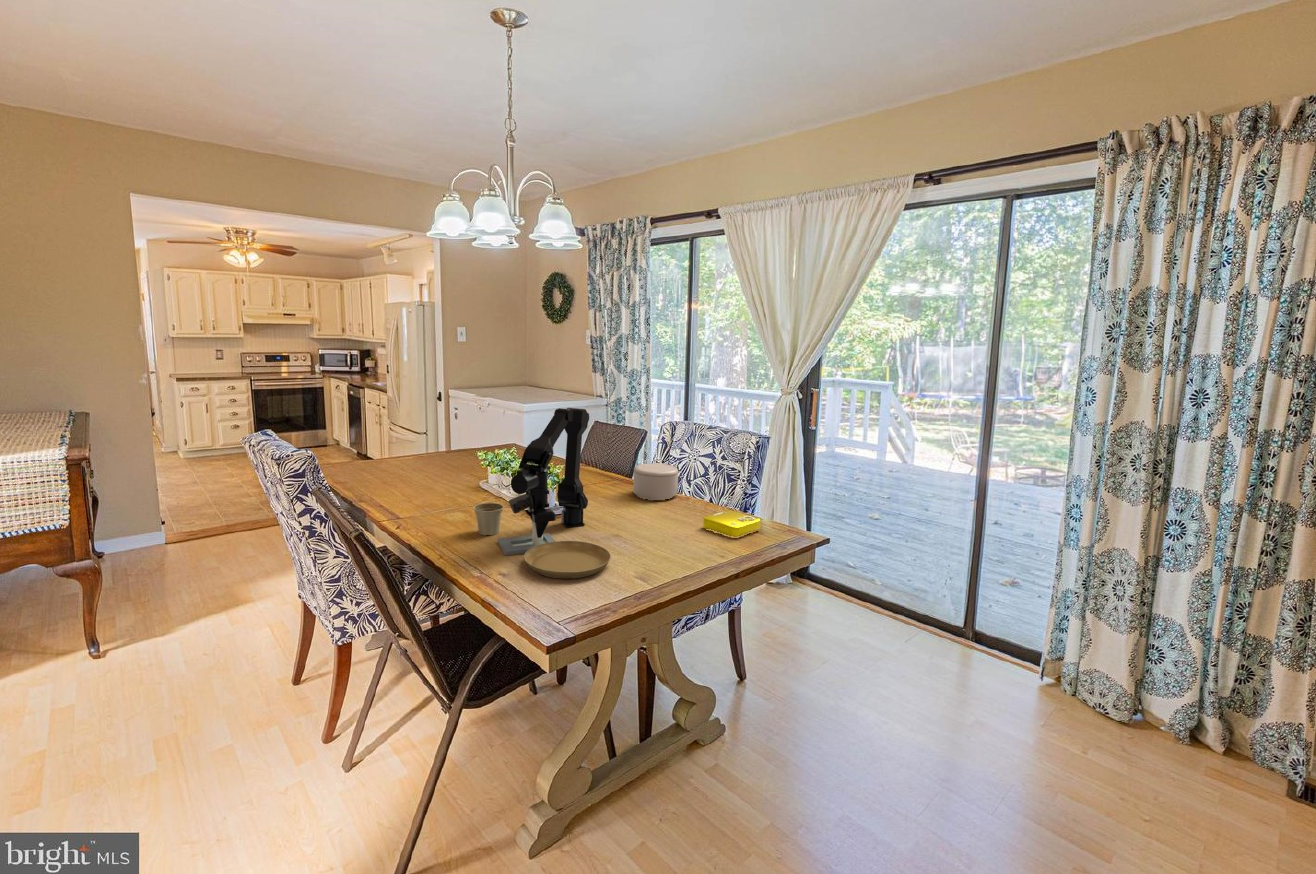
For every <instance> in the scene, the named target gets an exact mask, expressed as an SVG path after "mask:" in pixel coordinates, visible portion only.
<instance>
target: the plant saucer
mask: <svg viewBox="0 0 1316 874" xmlns="http://www.w3.org/2000/svg"><path fill="white" fill-rule="evenodd" d="M523 558H524V561H525V563H526V564H527V565H528V566H529V568H530V569H531V570H532V571H534V572H536V573H537V574H539V575H542V576H543V577H548V578H552V579H562V580H569V579H573V580H574V579H580V578H586V577H589V576H592V575H594V574H598V573H599V572H601V571H602V570H603V569H605V568H606V566H607V565H608V564H609V562H610V561H611V558H612V556H611V553H610V551H609V550H608V549H606V548H604V547H603V546H600V545H598V544H595V543H592V542H586V541H579V540H557V541H556V540H555V542H548V543H544V544H540V545H537V546H535V547H532V548H531V549H529V550H528V551H527V552H526V553H524V554H523Z"/></svg>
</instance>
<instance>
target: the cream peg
mask: <svg viewBox="0 0 1316 874" xmlns="http://www.w3.org/2000/svg"><path fill="white" fill-rule="evenodd" d="M531 525H532V526H531V527H532V528H531V529H532V531H531V532H532V533H531V535H532V544H533V545H536V544H543V535H542V537H541V538H538V537H537V532H536V526H535V522H534V521H531Z"/></svg>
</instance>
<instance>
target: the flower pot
mask: <svg viewBox="0 0 1316 874" xmlns="http://www.w3.org/2000/svg"><path fill="white" fill-rule="evenodd" d="M504 508H505V506H504V504H501V503H497V502H483V503H479V504H476V505H474V506H473V508H472V509H473V511H474V514H475V516H476V520H477V521H476V522H477V529H478V533H479V535H482V536H487V535H488V536H494V535H498V534H499V532H500V527H501V526H500V525H501V518H502V513H503V509H504Z"/></svg>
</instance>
